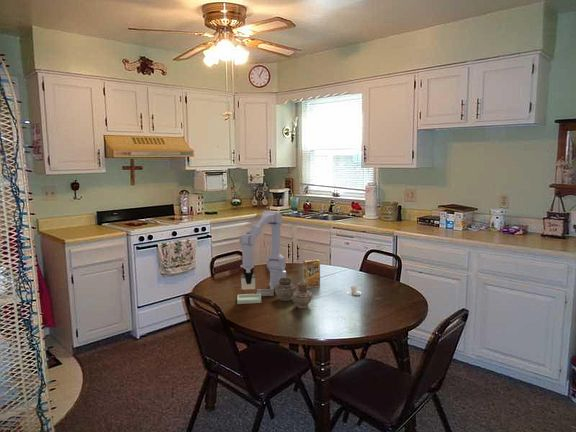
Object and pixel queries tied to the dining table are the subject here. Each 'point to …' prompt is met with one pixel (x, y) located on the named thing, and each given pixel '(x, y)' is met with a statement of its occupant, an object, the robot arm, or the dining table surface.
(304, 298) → the pottery
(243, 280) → the block
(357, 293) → the white headphones
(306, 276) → the candy box
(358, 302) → the dining table surface
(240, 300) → the tray
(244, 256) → the robot arm
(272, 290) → the bay
